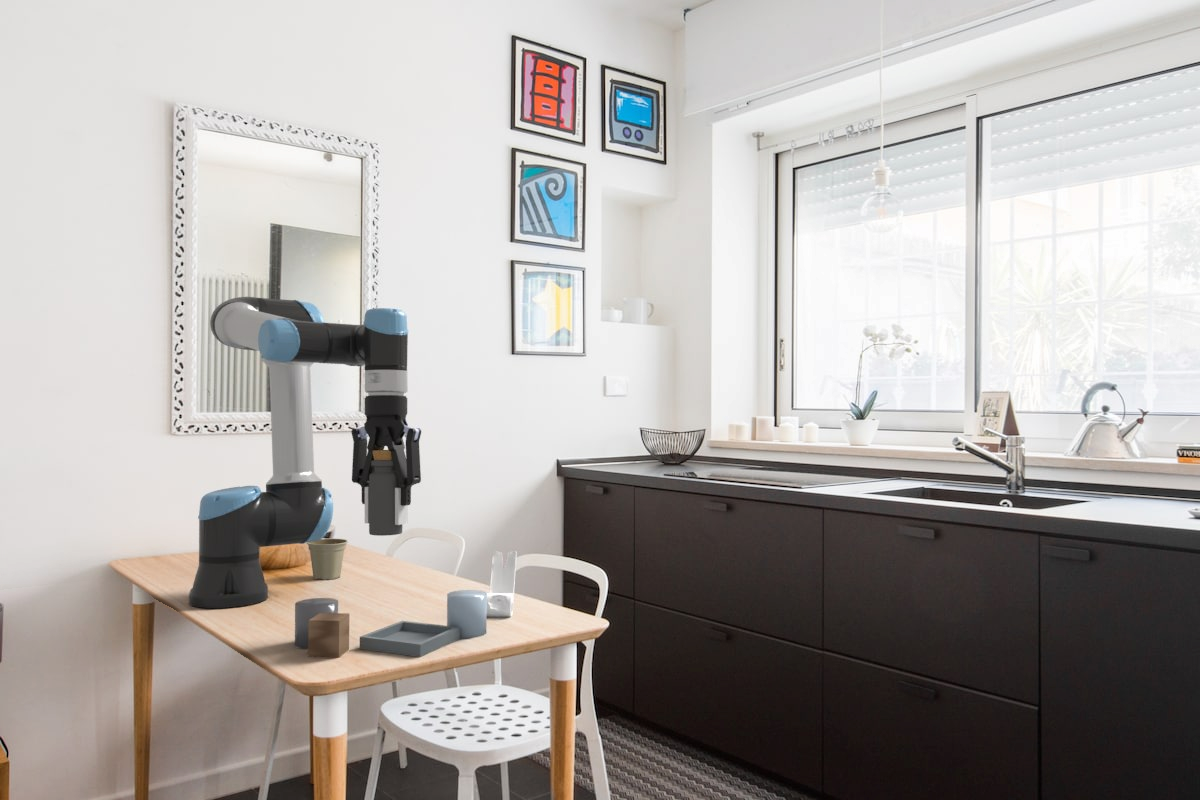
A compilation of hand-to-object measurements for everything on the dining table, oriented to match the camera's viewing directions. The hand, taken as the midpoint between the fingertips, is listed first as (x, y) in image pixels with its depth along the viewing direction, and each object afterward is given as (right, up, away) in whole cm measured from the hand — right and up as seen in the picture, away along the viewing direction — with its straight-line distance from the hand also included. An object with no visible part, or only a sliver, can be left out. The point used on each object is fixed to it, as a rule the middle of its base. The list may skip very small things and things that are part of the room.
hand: (386, 523), depth 155 cm
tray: (+6, -19, -8) cm, 22 cm away
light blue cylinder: (+15, -20, -1) cm, 25 cm away
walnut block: (-6, -19, -14) cm, 25 cm away
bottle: (0, -2, 0) cm, 2 cm away
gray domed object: (-10, -19, -8) cm, 23 cm away
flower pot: (-26, -20, +50) cm, 60 cm away
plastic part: (+18, -20, +15) cm, 31 cm away
